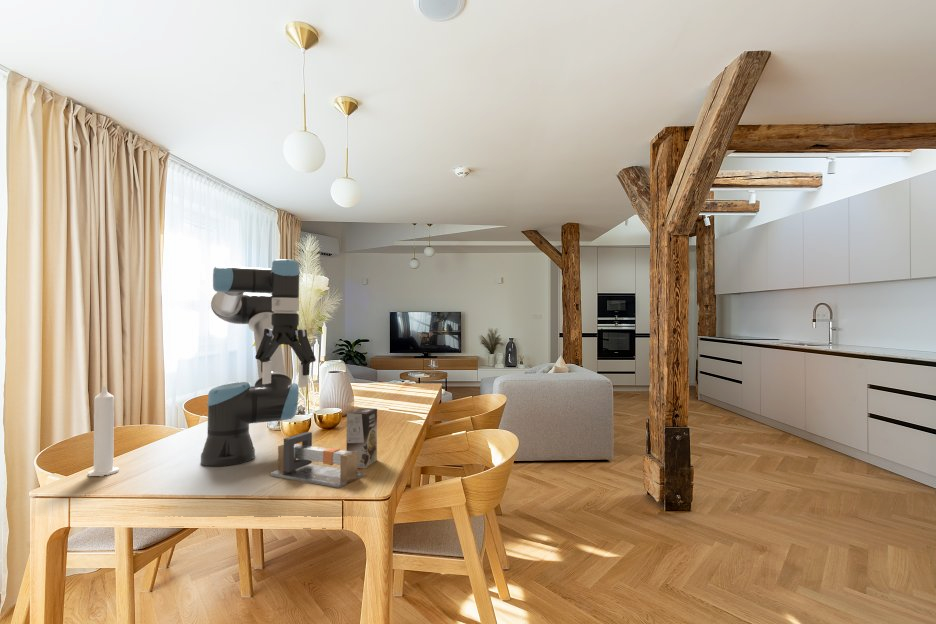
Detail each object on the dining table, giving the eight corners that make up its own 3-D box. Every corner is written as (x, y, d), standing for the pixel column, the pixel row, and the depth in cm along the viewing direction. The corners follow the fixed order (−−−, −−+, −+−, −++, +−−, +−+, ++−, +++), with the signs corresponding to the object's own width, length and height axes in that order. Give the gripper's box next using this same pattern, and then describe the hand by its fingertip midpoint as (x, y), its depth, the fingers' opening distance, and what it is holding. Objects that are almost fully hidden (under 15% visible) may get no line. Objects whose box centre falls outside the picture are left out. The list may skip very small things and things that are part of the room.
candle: (85, 478, 134) (86, 387, 134) (90, 471, 140) (91, 384, 141) (116, 474, 137) (117, 385, 138) (120, 467, 144) (121, 382, 144)
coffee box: (365, 469, 143) (366, 413, 143) (345, 467, 144) (345, 412, 144) (377, 460, 152) (378, 408, 152) (358, 458, 153) (358, 407, 153)
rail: (269, 475, 137) (270, 447, 137) (298, 464, 147) (298, 439, 147) (339, 487, 127) (339, 458, 127) (364, 475, 137) (364, 447, 137)
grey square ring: (283, 471, 136) (283, 438, 136) (306, 462, 144) (306, 431, 144) (289, 472, 135) (289, 439, 135) (311, 463, 143) (311, 432, 143)
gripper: (242, 312, 144) (242, 384, 144) (311, 313, 135) (310, 390, 135) (262, 312, 151) (261, 380, 151) (328, 313, 141) (327, 386, 142)
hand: (284, 385), depth 143 cm, fingers open, 13 cm apart
